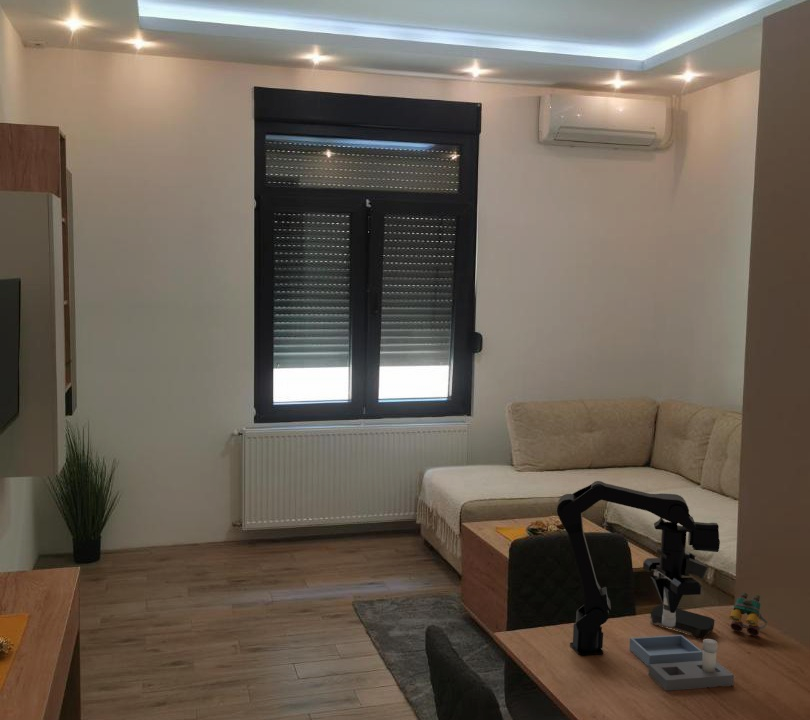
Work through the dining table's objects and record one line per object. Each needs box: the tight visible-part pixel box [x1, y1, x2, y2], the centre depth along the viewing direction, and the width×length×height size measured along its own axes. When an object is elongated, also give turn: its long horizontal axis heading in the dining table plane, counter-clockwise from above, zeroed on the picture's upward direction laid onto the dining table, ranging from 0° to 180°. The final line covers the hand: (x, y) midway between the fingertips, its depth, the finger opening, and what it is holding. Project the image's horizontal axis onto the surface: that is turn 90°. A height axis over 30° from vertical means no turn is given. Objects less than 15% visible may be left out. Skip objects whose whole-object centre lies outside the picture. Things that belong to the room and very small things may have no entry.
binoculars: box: [729, 591, 768, 637], centre depth 227 cm, size 9×9×10 cm
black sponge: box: [649, 604, 715, 639], centre depth 228 cm, size 16×8×4 cm, turn 47°
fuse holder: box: [648, 660, 735, 692], centre depth 197 cm, size 17×8×2 cm, turn 102°
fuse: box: [701, 638, 719, 673], centre depth 198 cm, size 3×3×9 cm
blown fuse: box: [662, 589, 676, 627], centre depth 207 cm, size 3×3×9 cm
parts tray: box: [628, 634, 703, 668], centre depth 210 cm, size 14×10×3 cm
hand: (669, 610), depth 207 cm, fingers closed on blown fuse, 3 cm apart
